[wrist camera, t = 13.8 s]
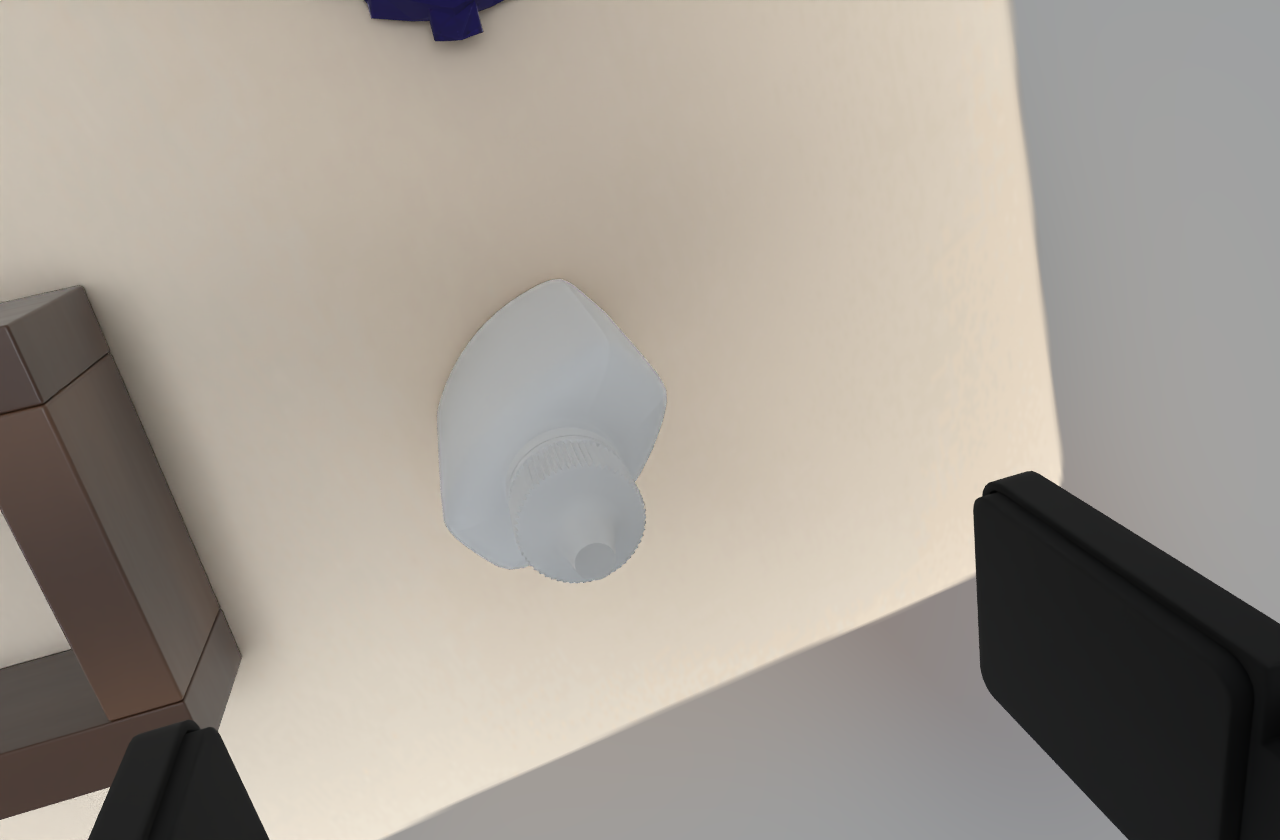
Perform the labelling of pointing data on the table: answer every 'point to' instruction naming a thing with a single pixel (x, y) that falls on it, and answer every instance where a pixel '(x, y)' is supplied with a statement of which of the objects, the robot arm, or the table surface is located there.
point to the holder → (94, 565)
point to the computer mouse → (436, 15)
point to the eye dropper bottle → (549, 437)
